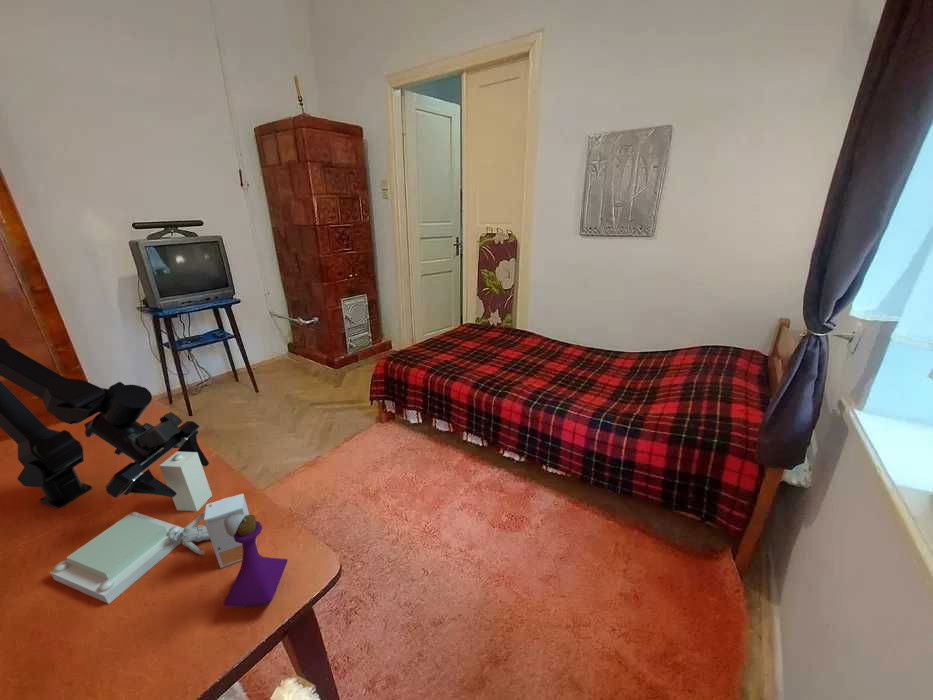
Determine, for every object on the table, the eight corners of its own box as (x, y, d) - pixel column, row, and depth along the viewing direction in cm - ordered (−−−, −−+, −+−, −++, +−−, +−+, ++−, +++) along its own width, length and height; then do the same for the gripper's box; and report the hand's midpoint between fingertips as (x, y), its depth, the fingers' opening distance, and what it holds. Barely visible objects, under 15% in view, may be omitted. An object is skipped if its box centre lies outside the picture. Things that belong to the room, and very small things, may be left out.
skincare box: (220, 569, 68) (201, 520, 64) (221, 551, 72) (204, 503, 67) (257, 555, 71) (242, 507, 66) (257, 538, 74) (243, 492, 70)
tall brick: (177, 510, 81) (158, 462, 76) (193, 494, 85) (176, 448, 80) (197, 511, 81) (179, 464, 76) (212, 495, 85) (196, 449, 80)
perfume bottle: (248, 575, 67) (222, 498, 60) (291, 571, 68) (270, 495, 61) (227, 618, 60) (195, 537, 53) (275, 614, 61) (250, 533, 54)
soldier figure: (242, 548, 73) (164, 561, 67) (239, 548, 77) (165, 561, 70) (245, 505, 76) (171, 513, 70) (242, 508, 80) (171, 516, 73)
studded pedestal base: (54, 579, 66) (44, 564, 65) (138, 519, 79) (132, 504, 77) (108, 603, 63) (99, 587, 61) (188, 536, 75) (182, 521, 73)
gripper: (96, 440, 66) (174, 492, 69) (179, 388, 83) (239, 432, 86) (73, 473, 69) (148, 521, 73) (157, 417, 86) (215, 458, 90)
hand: (192, 479), depth 80 cm, fingers open, 9 cm apart
